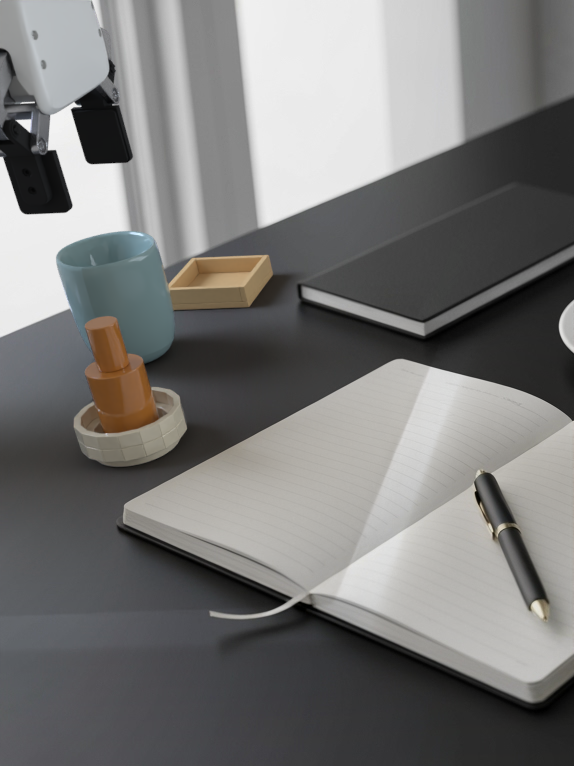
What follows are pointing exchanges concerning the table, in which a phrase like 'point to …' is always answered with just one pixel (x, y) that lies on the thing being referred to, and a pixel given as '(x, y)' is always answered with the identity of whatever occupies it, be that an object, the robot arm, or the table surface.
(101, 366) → the bottle
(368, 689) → the table surface
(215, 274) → the tray
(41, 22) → the robot arm
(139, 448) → the bowl
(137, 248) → the cup
